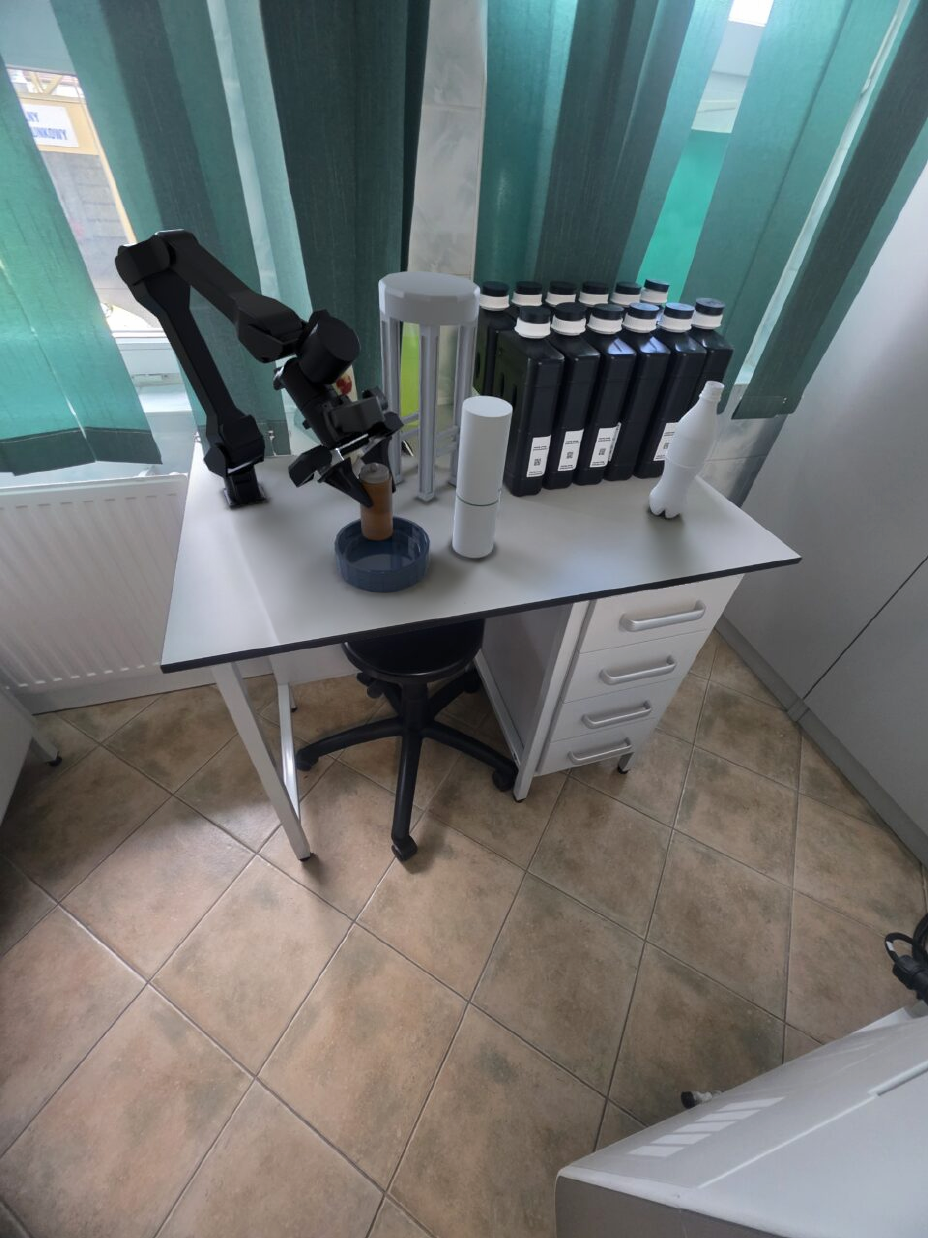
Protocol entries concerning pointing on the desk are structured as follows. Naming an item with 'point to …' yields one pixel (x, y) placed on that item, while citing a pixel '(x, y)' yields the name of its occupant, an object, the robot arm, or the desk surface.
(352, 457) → the food model
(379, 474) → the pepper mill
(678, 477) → the water bottle
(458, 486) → the cylindrical container
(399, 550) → the bowl
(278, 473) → the desk surface
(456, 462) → the stool
